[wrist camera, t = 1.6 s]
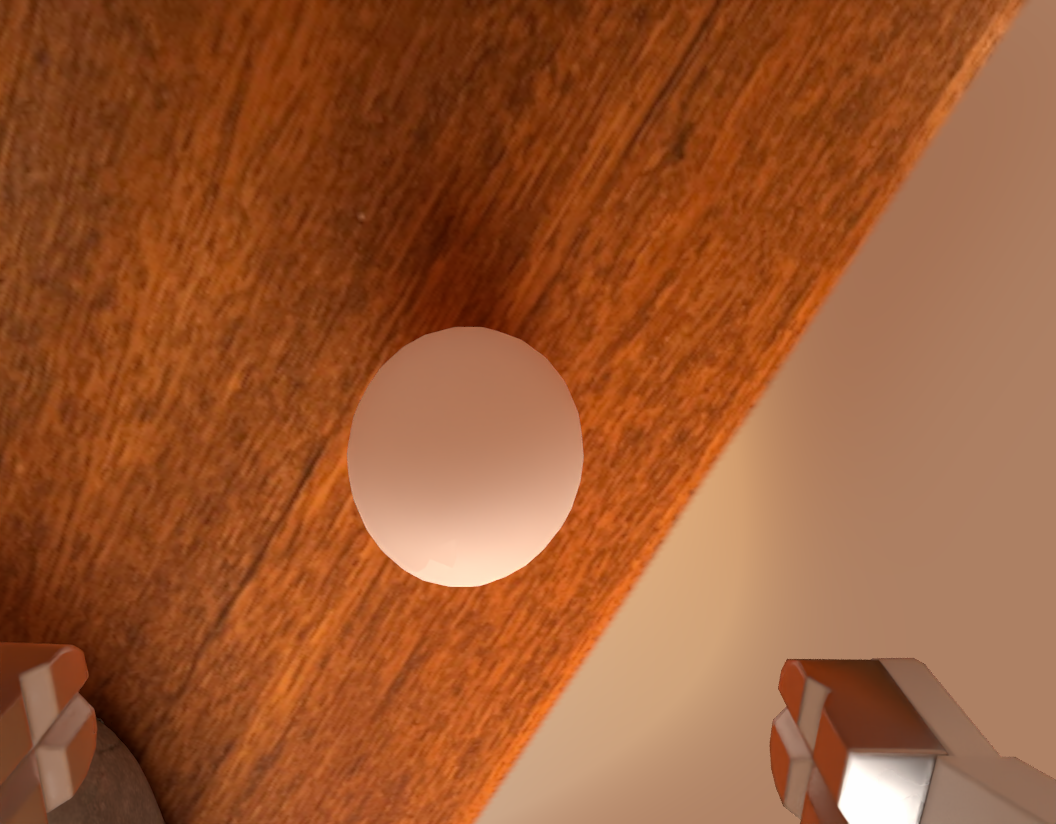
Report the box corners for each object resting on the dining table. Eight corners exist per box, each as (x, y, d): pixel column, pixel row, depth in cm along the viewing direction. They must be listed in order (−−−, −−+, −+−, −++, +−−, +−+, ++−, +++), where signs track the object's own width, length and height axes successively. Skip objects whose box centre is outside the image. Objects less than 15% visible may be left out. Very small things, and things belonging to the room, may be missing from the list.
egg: (605, 417, 19) (660, 572, 12) (452, 512, 20) (422, 710, 13) (499, 261, 18) (494, 335, 11) (340, 369, 19) (240, 503, 12)
